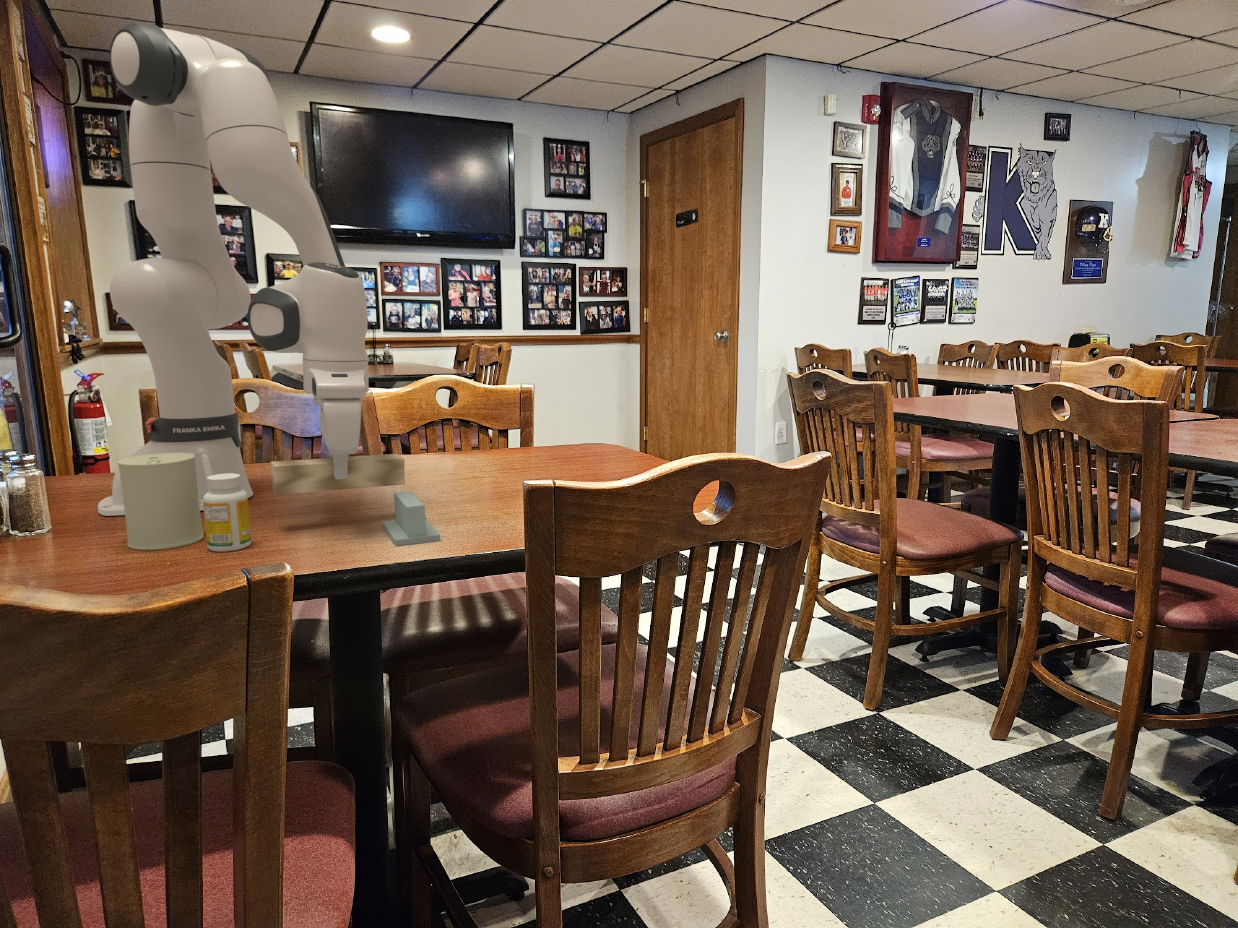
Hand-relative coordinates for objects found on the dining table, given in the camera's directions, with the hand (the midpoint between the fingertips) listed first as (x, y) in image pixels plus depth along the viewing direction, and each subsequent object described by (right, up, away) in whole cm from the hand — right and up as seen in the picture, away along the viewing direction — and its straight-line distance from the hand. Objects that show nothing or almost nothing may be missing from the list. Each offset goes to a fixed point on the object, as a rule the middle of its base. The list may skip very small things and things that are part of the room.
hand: (338, 474), depth 118 cm
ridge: (+12, -8, -5) cm, 15 cm away
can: (-21, -9, -8) cm, 24 cm away
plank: (0, -2, 0) cm, 2 cm away
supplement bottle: (-11, -10, -11) cm, 18 cm away
